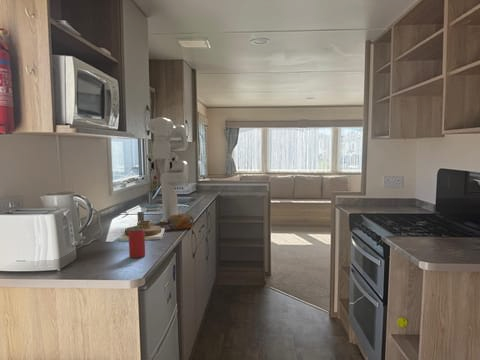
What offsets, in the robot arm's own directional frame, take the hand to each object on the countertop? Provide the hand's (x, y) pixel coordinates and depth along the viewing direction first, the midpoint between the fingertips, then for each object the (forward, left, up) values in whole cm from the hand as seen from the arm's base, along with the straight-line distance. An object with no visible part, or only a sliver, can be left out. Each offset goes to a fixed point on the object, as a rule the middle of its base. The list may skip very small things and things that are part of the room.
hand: (161, 169), depth 205 cm
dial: (+15, -9, -33) cm, 38 cm away
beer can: (+55, -5, -35) cm, 65 cm away
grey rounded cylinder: (-2, -13, -35) cm, 37 cm away
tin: (0, +10, -35) cm, 37 cm away
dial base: (+15, -9, -35) cm, 39 cm away
